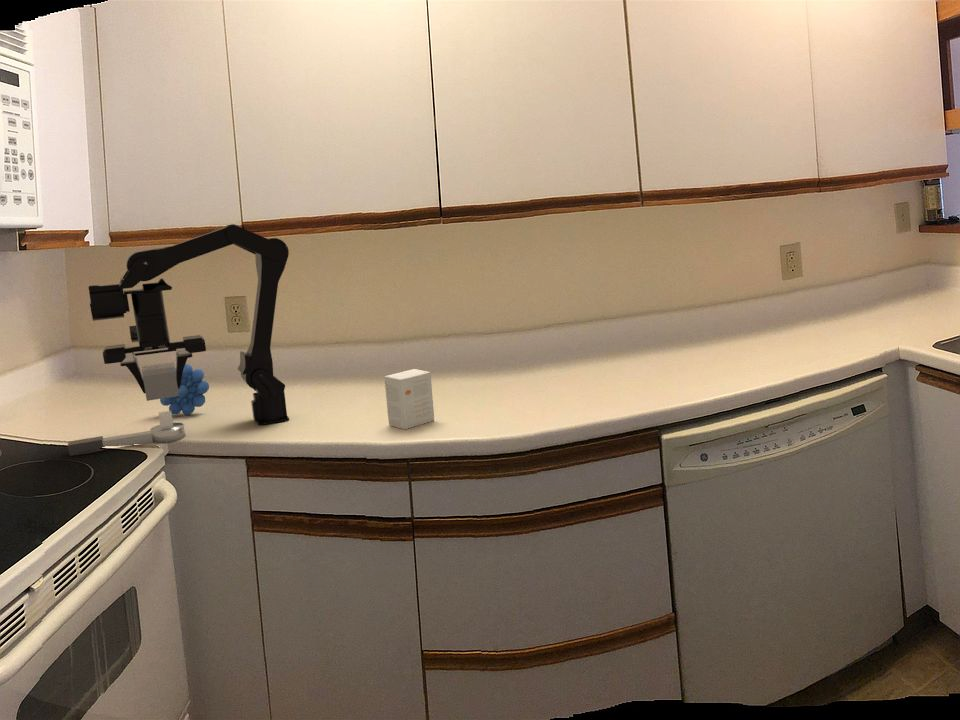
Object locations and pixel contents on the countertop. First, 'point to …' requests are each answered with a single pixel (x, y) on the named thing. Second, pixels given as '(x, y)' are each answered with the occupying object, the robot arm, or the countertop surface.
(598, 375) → the countertop surface
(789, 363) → the countertop surface
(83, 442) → the ratchet
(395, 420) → the small box
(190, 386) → the grapes
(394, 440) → the countertop surface
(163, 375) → the grey rounded cube
